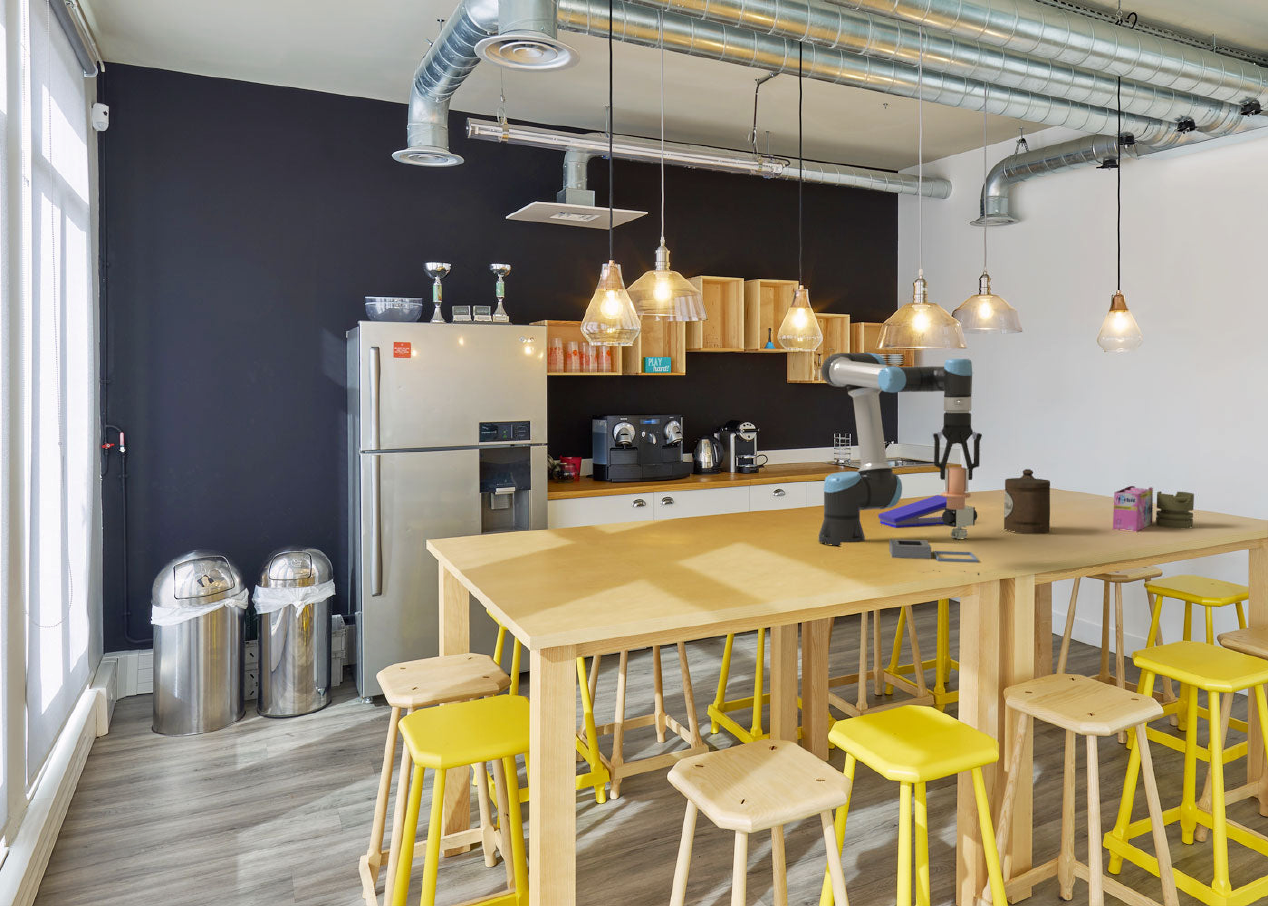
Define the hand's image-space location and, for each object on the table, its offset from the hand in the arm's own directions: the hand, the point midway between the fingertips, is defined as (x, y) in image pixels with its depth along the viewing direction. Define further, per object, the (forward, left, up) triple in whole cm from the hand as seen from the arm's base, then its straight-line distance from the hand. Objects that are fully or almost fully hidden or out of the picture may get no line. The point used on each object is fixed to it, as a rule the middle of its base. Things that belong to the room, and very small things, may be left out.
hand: (955, 490), depth 248 cm
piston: (+87, +78, -22) cm, 119 cm away
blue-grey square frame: (0, 0, -22) cm, 22 cm away
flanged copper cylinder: (0, 0, -5) cm, 5 cm away
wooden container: (+33, +60, -22) cm, 72 cm away
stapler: (-3, +70, -22) cm, 74 cm away
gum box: (+72, +75, -22) cm, 106 cm away
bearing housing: (-12, +3, -22) cm, 25 cm away
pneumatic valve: (+7, +40, -22) cm, 46 cm away
